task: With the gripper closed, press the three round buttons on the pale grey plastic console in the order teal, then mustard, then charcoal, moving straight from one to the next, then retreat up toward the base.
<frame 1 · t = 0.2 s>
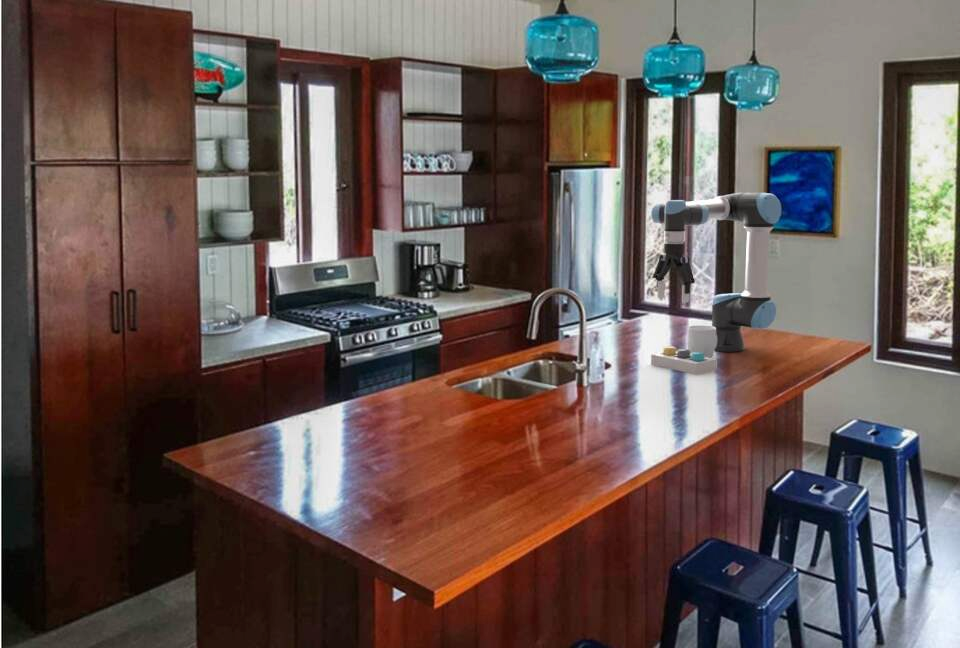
hand: (672, 300, 329), 27 cm above the counter, fingers open, 13 cm apart
teal button: (698, 358, 334), point 5 cm above the counter, slide at 0.0 cm
mustard button: (669, 352, 345), point 5 cm above the counter, slide at 0.0 cm
mug: (702, 360, 353), on the counter
console: (683, 366, 341), on the counter
charcoal button: (683, 355, 340), point 5 cm above the counter, slide at 0.0 cm
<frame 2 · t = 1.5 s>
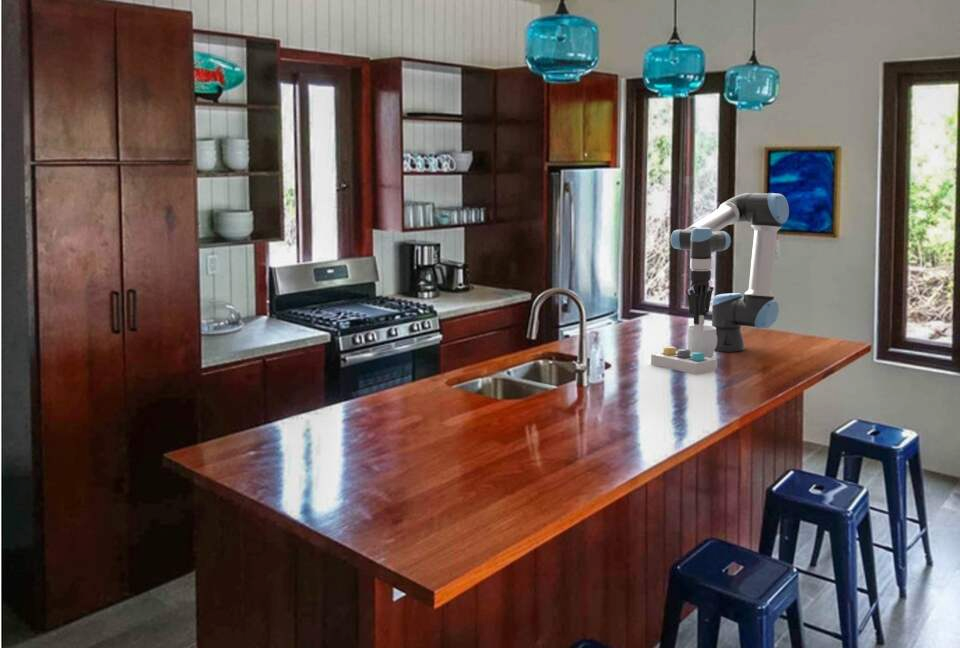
hand: (698, 332, 332), 14 cm above the counter, fingers closed
nothing on the counter moved.
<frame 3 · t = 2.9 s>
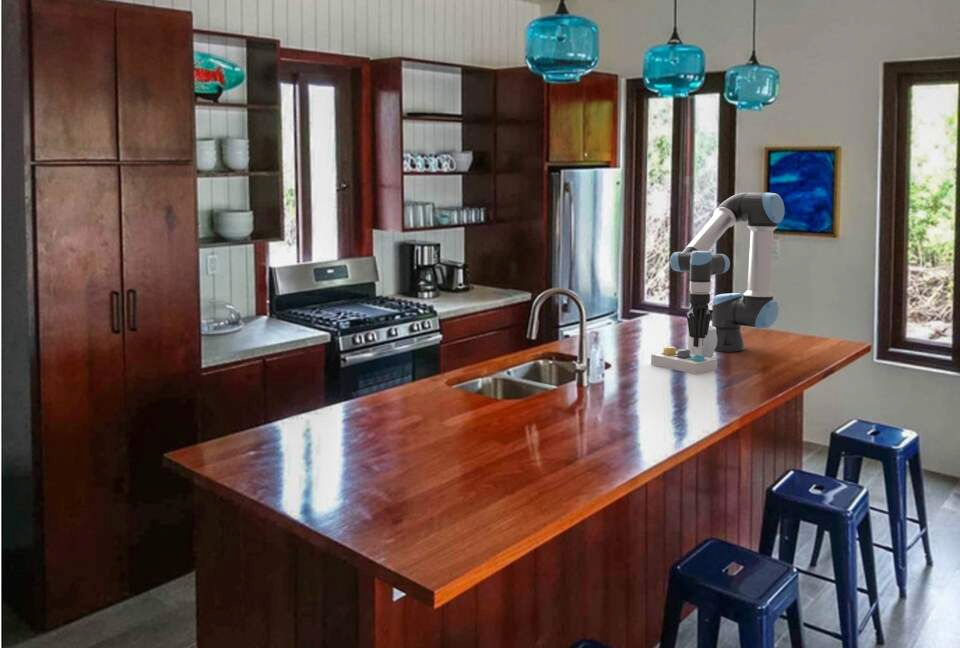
hand: (697, 355, 334), 6 cm above the counter, fingers closed
teal button: (697, 360, 334), point 4 cm above the counter, slide at 0.9 cm, touching gripper
everything else where it was.
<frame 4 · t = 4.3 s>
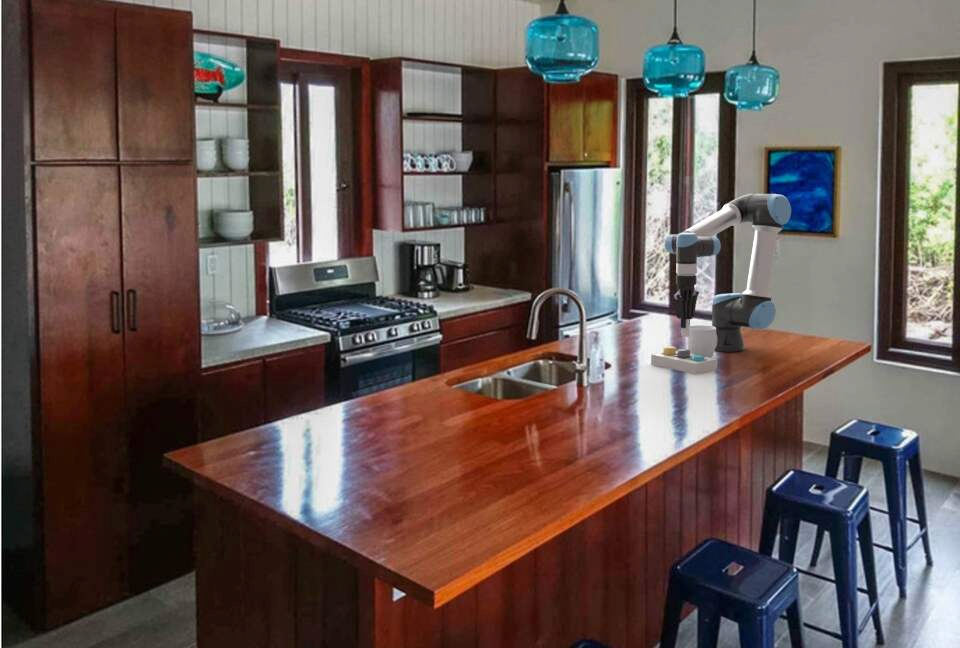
hand: (685, 336, 338), 12 cm above the counter, fingers closed
teal button: (697, 361, 334), point 3 cm above the counter, slide at 1.2 cm
everything else where it was.
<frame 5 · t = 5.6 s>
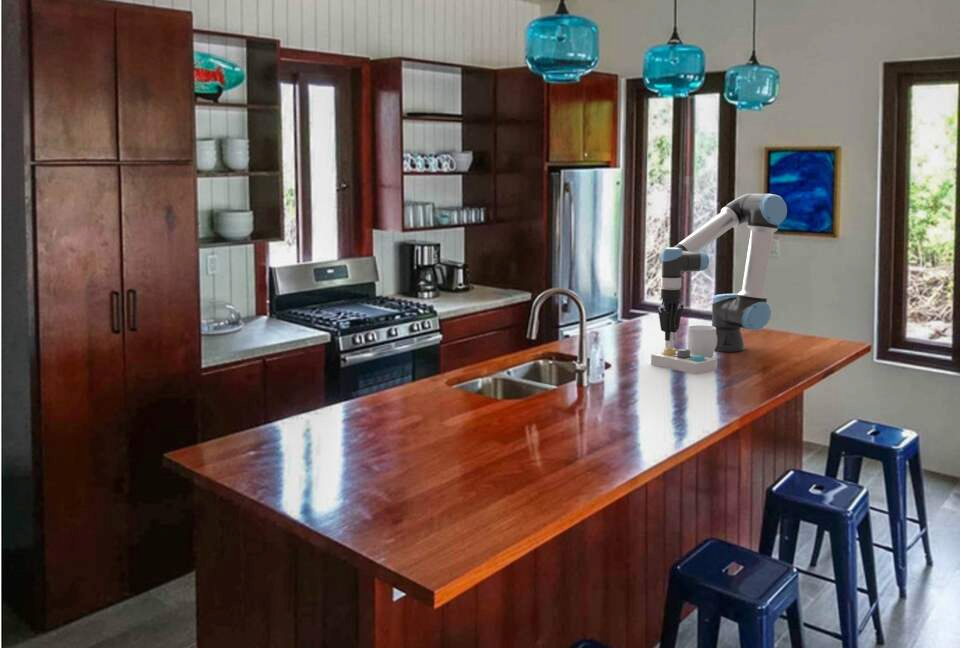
hand: (669, 348, 345), 6 cm above the counter, fingers closed
mustard button: (669, 354, 345), point 4 cm above the counter, slide at 0.7 cm, touching gripper
everything else where it was.
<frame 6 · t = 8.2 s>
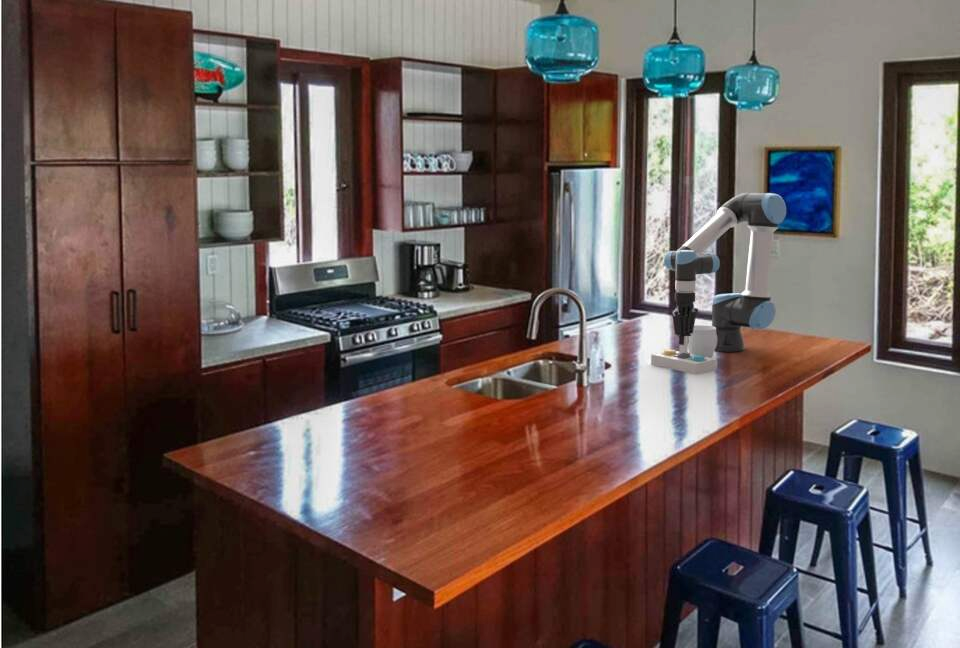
hand: (683, 352, 339), 6 cm above the counter, fingers closed
mustard button: (669, 355, 346), point 3 cm above the counter, slide at 1.2 cm
charcoal button: (683, 358, 340), point 3 cm above the counter, slide at 1.1 cm, touching gripper
everything else where it was.
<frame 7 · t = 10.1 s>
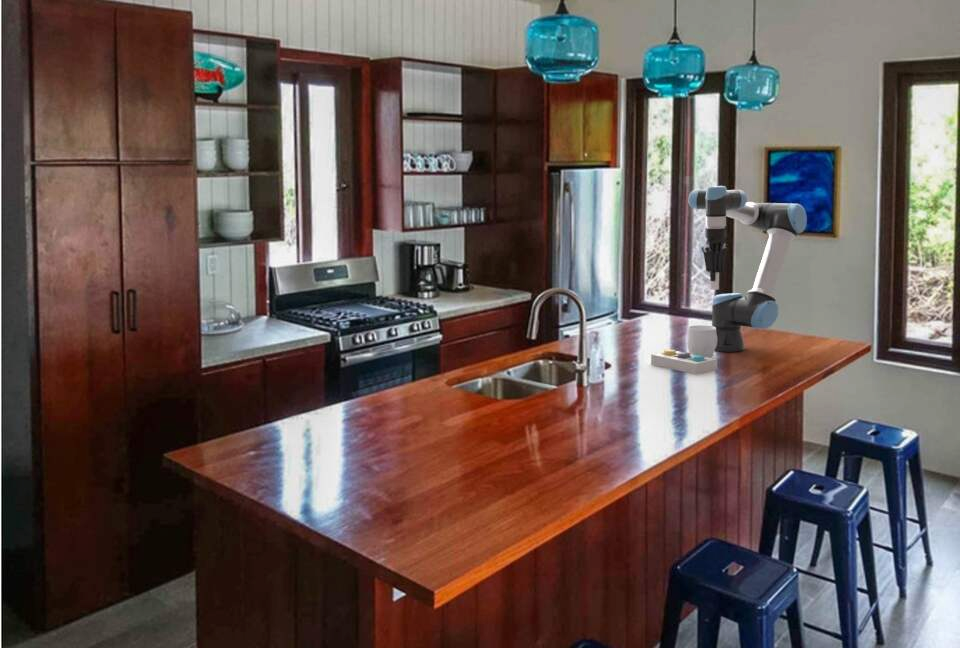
hand: (714, 289, 341), 29 cm above the counter, fingers closed
charcoal button: (683, 358, 340), point 3 cm above the counter, slide at 1.2 cm
everything else where it was.
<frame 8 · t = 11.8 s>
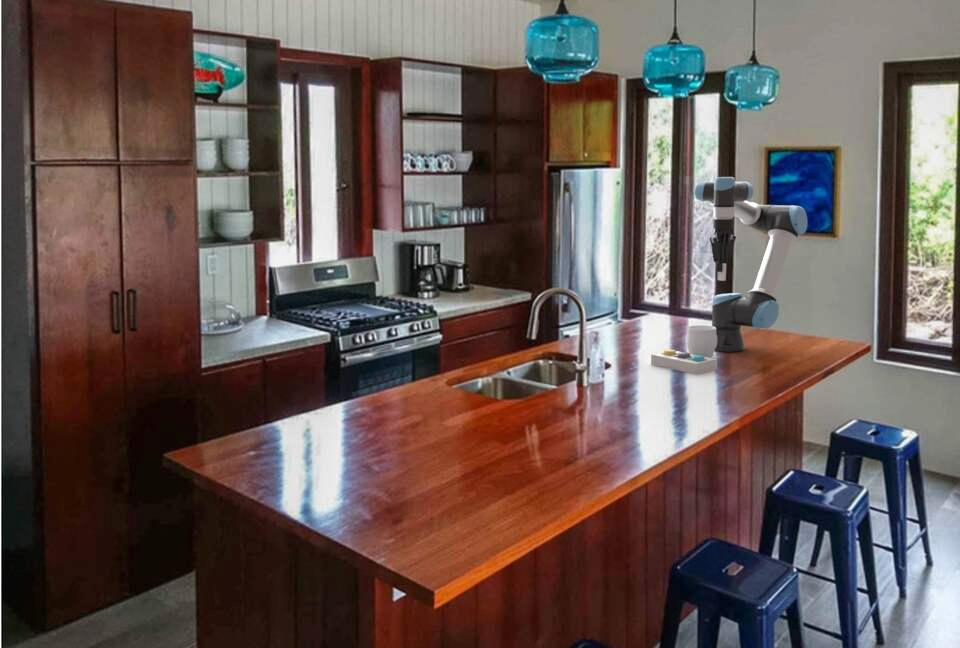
hand: (721, 280, 341), 32 cm above the counter, fingers closed
nothing on the counter moved.
at the end: teal button slide at 1.2 cm; mustard button slide at 1.2 cm; charcoal button slide at 1.2 cm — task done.
